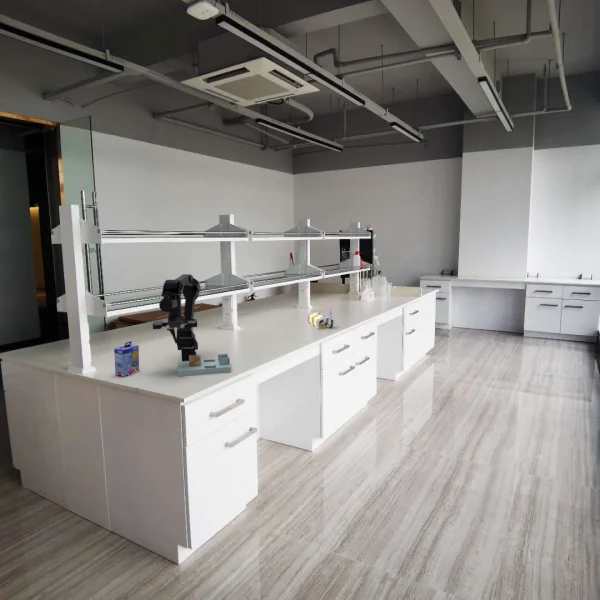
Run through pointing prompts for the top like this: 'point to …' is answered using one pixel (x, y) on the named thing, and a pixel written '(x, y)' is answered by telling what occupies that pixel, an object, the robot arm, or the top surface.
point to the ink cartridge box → (126, 359)
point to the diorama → (320, 319)
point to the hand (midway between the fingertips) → (176, 343)
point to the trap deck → (205, 366)
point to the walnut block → (194, 360)
